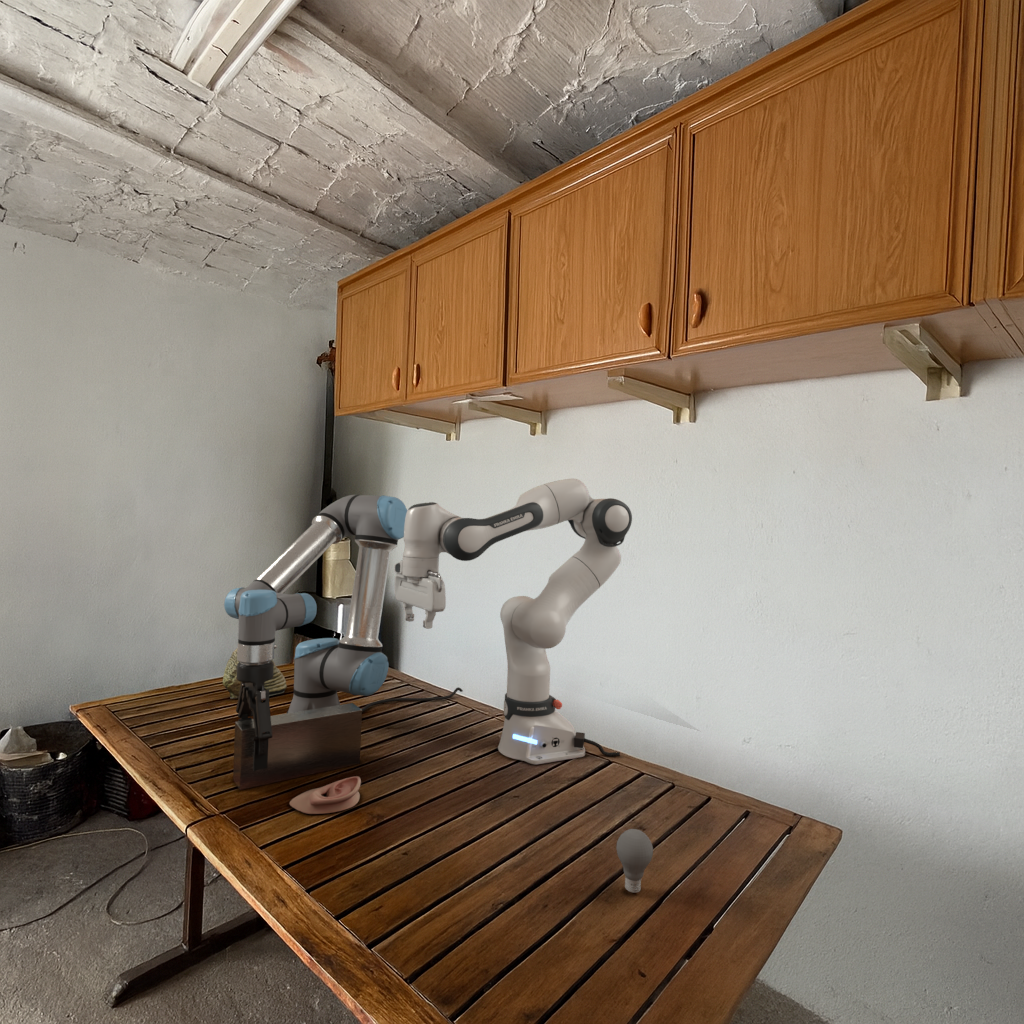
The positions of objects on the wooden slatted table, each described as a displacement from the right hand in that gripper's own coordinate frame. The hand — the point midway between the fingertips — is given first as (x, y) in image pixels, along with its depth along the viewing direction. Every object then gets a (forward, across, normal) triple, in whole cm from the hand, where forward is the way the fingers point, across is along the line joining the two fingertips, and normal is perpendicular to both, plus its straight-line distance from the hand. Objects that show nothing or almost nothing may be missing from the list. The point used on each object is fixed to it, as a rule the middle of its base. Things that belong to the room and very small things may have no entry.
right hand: (418, 624), depth 155 cm
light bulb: (+33, -67, -6) cm, 75 cm away
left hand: (+28, +6, +37) cm, 46 cm away
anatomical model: (+33, -11, +26) cm, 44 cm away
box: (+33, +6, +26) cm, 42 cm away
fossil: (+33, +67, +21) cm, 77 cm away
